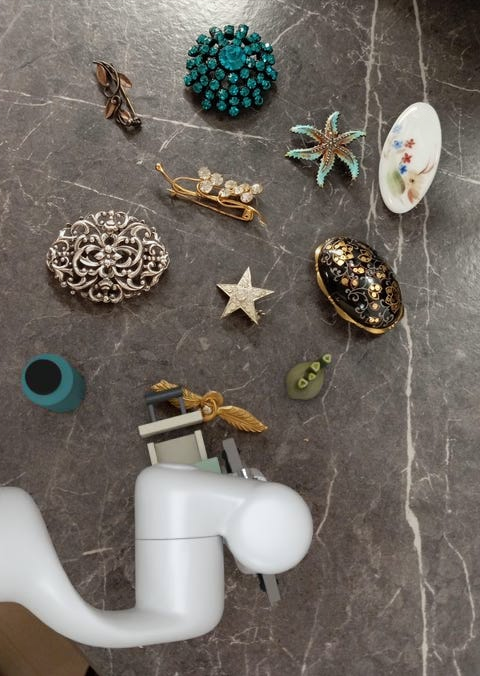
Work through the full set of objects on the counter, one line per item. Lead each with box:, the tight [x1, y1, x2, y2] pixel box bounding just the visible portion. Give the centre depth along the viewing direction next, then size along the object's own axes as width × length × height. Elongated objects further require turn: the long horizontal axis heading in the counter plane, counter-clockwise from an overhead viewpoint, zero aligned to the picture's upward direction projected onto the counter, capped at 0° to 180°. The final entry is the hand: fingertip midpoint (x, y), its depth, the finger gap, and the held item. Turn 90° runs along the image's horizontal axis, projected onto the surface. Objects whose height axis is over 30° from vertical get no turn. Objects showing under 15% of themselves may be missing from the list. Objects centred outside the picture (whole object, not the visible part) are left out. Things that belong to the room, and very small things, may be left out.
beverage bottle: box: [20, 353, 88, 414], centre depth 113 cm, size 6×7×20 cm
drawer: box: [137, 385, 209, 466], centre depth 118 cm, size 13×8×7 cm, turn 15°
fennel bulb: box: [284, 353, 333, 401], centre depth 119 cm, size 6×5×12 cm
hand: (245, 515), depth 103 cm, fingers open, 9 cm apart
